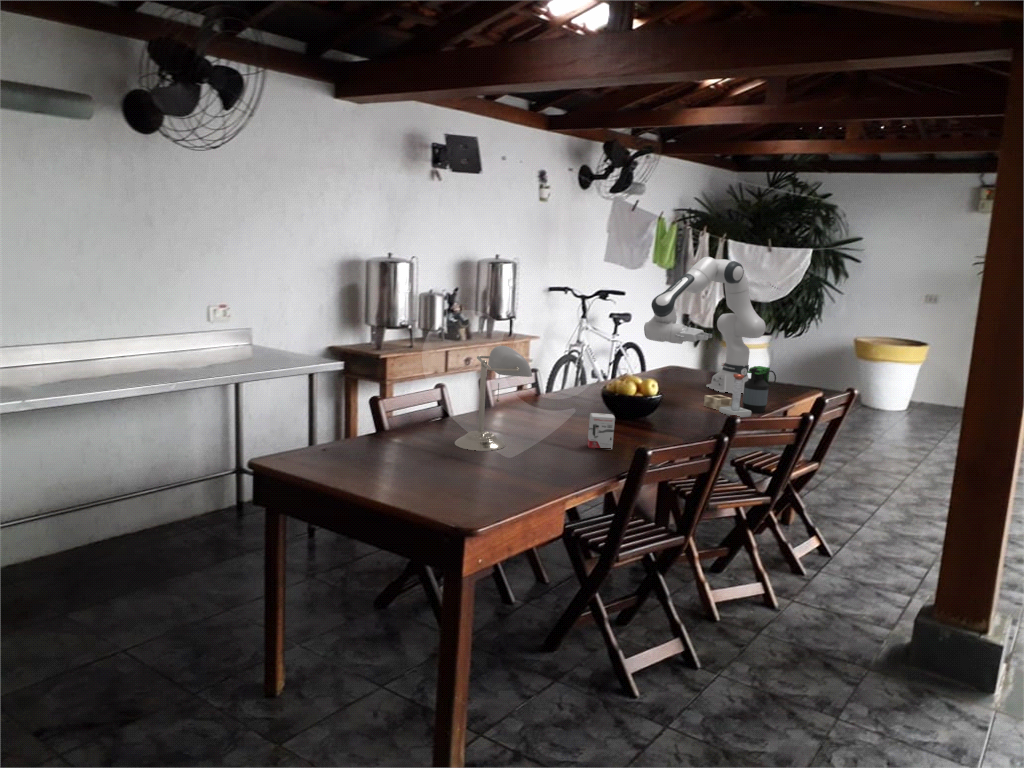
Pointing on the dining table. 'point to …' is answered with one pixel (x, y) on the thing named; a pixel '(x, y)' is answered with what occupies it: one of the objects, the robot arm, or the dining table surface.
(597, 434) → the ink box
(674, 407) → the dining table surface
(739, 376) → the pin
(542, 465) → the dining table surface
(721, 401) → the block
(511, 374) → the lamp
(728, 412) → the tray
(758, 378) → the grenade
